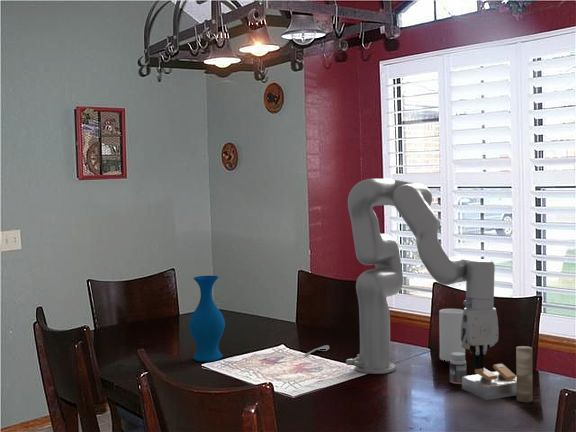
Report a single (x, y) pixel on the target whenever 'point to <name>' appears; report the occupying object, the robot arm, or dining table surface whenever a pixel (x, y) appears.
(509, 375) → the paddle
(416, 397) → the dining table surface
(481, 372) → the paddle
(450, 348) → the white tall cylinder
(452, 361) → the pill bottle
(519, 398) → the dowel post
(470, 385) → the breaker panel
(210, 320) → the vase
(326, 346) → the spoon
